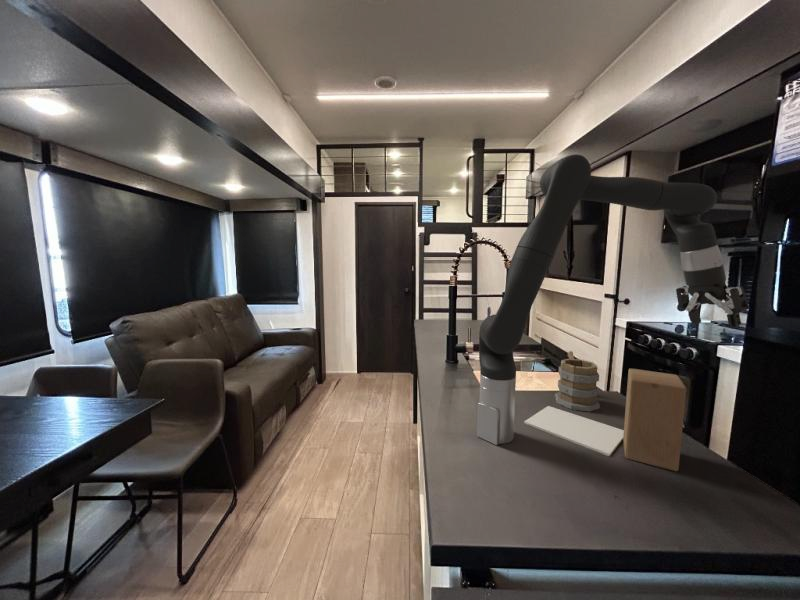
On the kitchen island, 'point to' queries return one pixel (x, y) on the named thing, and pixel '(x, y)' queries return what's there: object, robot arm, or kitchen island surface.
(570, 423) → the mat
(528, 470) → the kitchen island surface
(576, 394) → the tankard
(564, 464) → the kitchen island surface
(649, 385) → the wooden block
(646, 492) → the kitchen island surface
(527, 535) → the kitchen island surface
